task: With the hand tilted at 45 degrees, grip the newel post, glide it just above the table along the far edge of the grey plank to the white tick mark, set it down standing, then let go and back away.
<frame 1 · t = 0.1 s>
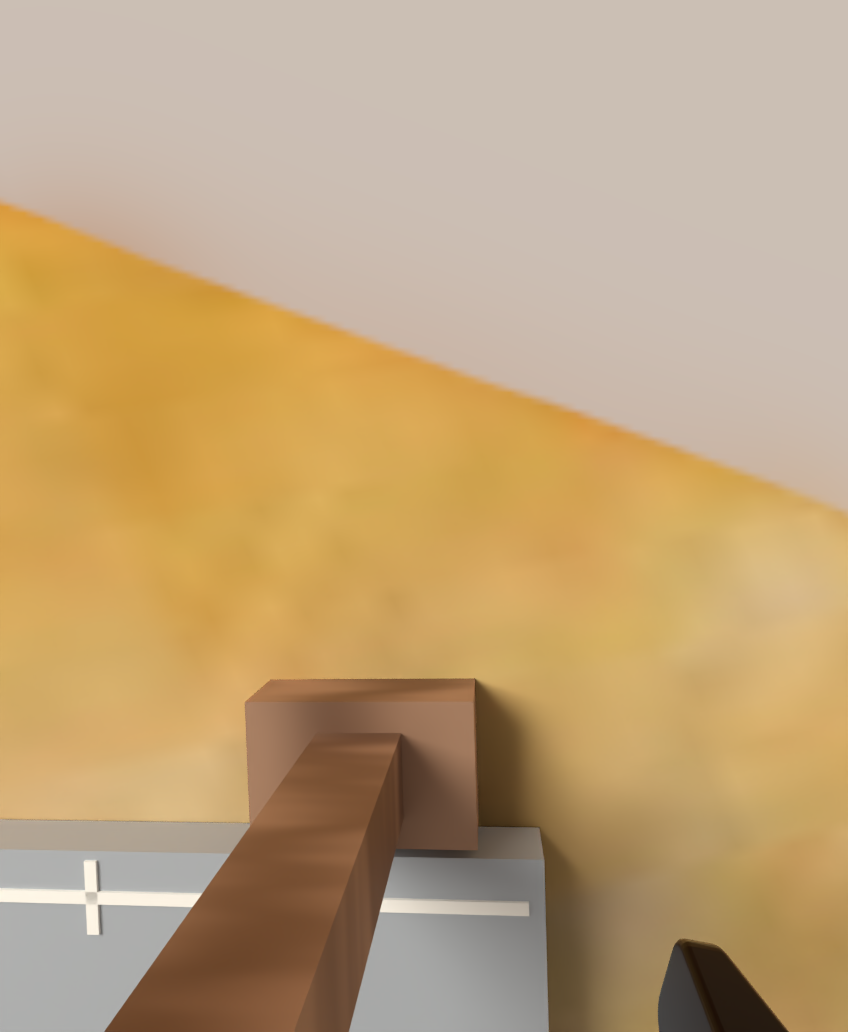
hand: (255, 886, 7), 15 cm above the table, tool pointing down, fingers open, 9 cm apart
newel post: (373, 744, 23), on the table
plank: (253, 964, 24), on the table
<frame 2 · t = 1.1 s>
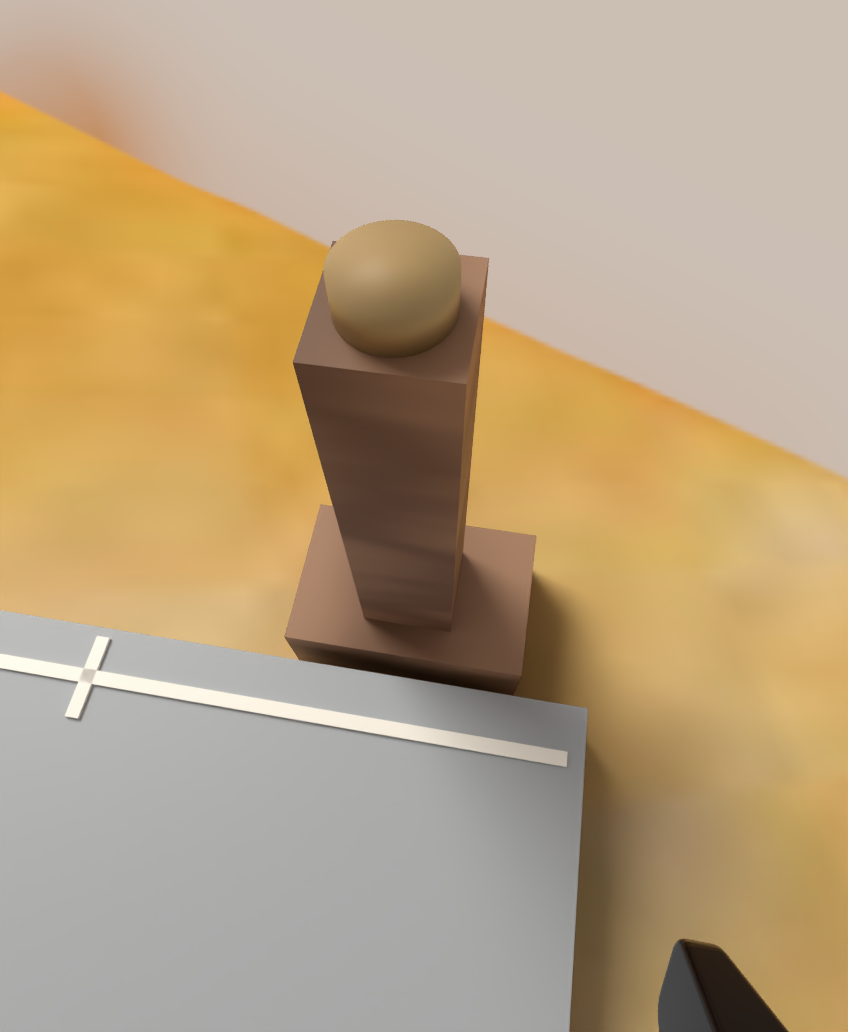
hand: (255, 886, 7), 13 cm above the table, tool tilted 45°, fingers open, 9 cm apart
newel post: (416, 612, 23), on the table
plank: (218, 837, 20), on the table
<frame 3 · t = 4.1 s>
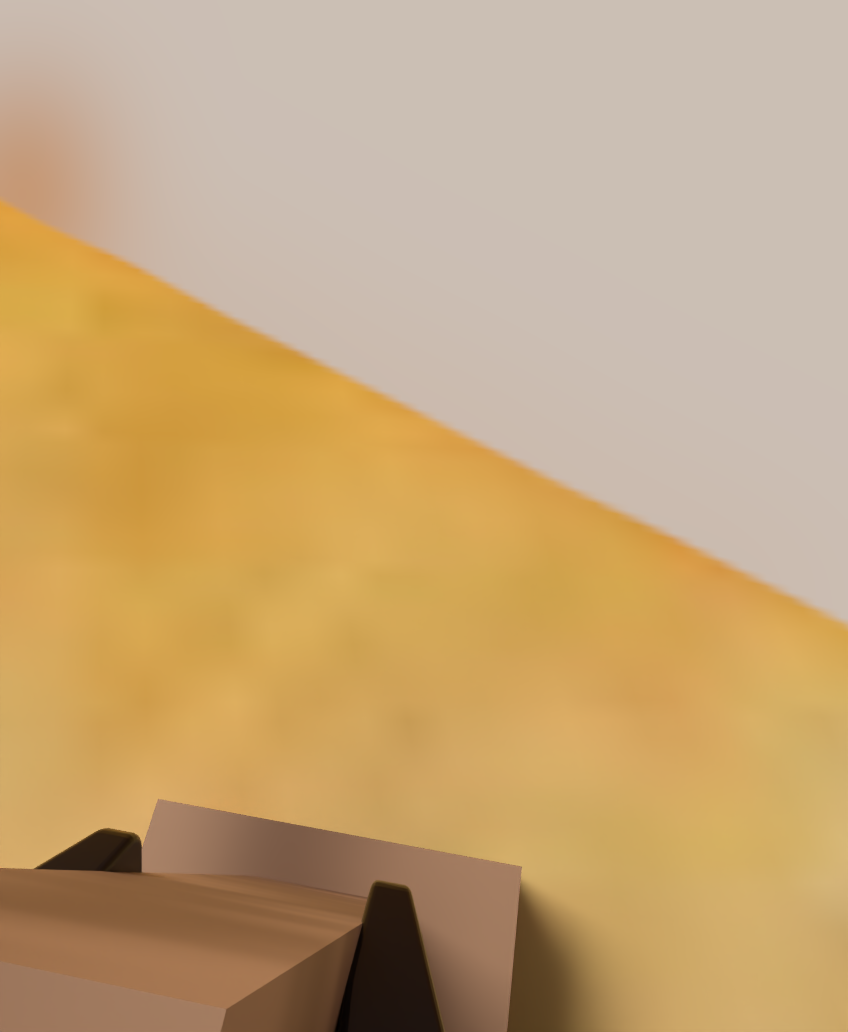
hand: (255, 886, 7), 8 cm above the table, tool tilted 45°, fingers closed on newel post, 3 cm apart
newel post: (325, 959, 14), on the table, touching gripper
when the fingers open (8 cm above the table, at t = 9.4 s): newel post stays where it is, on the table.
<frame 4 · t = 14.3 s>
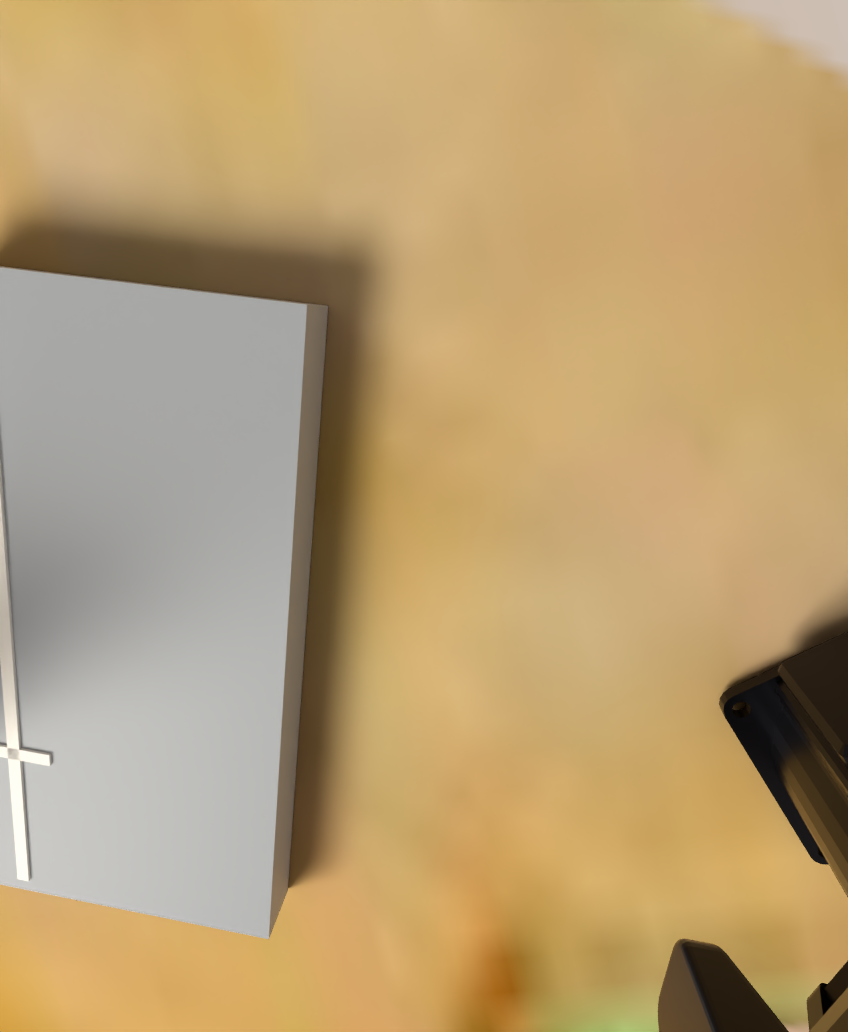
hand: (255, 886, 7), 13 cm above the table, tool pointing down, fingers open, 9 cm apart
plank: (152, 613, 22), on the table
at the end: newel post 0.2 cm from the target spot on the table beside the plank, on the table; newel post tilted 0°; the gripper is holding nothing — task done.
